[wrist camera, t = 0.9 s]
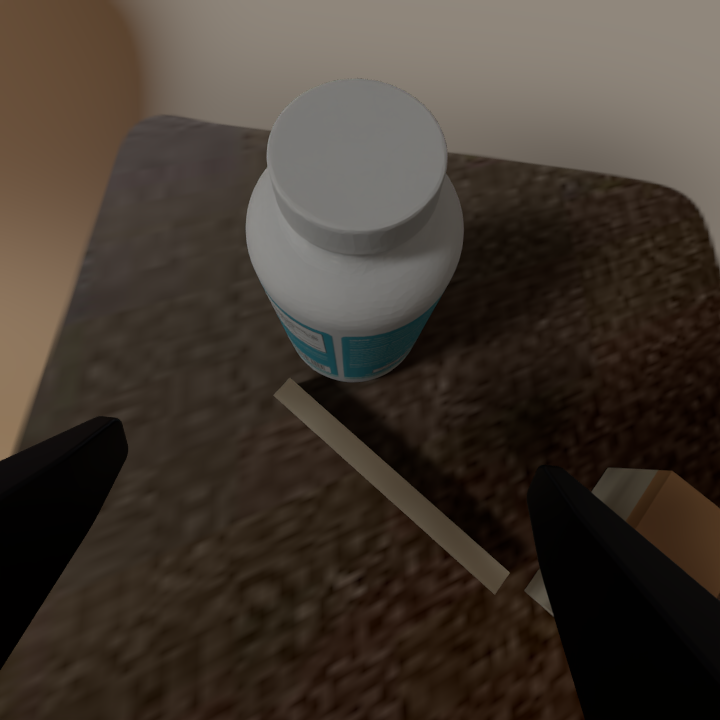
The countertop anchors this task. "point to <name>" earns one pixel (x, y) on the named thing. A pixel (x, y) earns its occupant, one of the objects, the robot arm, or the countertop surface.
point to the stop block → (661, 522)
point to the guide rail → (393, 486)
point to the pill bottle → (355, 225)
